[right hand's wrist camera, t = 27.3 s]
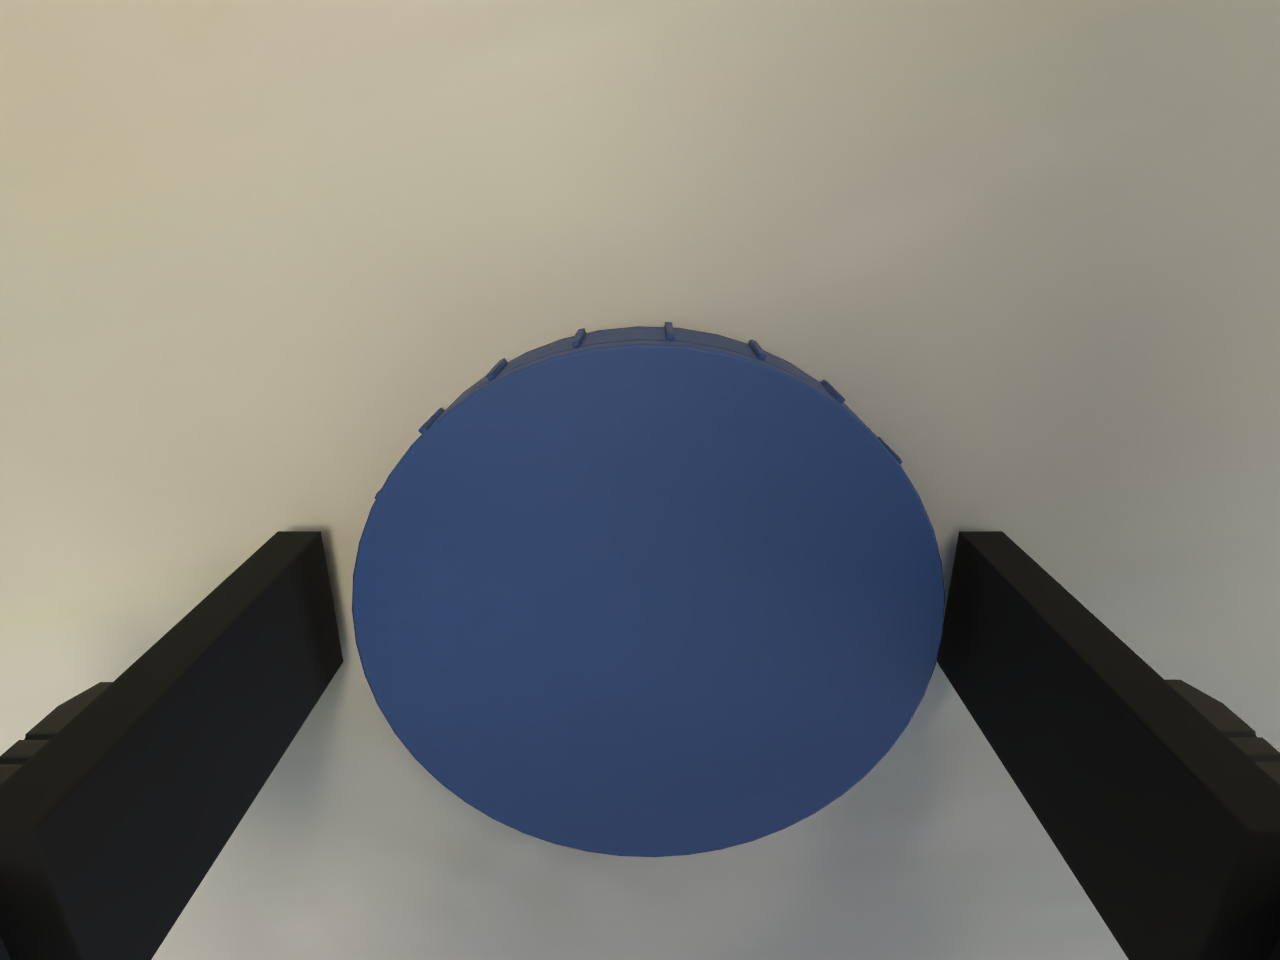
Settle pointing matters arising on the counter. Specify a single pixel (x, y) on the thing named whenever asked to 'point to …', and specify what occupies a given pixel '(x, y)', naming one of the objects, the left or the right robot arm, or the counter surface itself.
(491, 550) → the lid
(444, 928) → the counter surface
